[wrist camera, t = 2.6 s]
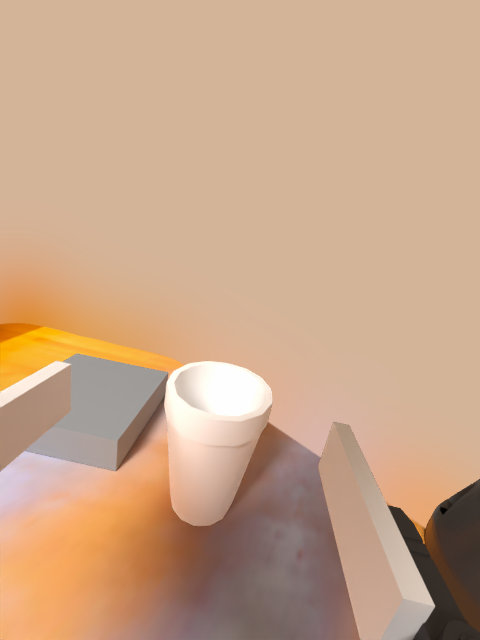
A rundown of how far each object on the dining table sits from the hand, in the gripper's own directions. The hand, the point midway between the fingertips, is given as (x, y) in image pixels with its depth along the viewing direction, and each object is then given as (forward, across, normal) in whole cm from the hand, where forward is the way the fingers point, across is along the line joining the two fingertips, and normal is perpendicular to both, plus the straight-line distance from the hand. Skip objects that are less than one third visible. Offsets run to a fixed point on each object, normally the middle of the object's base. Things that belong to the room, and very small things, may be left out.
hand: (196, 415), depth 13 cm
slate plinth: (+18, -16, -17) cm, 30 cm away
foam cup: (+10, 0, -17) cm, 20 cm away
